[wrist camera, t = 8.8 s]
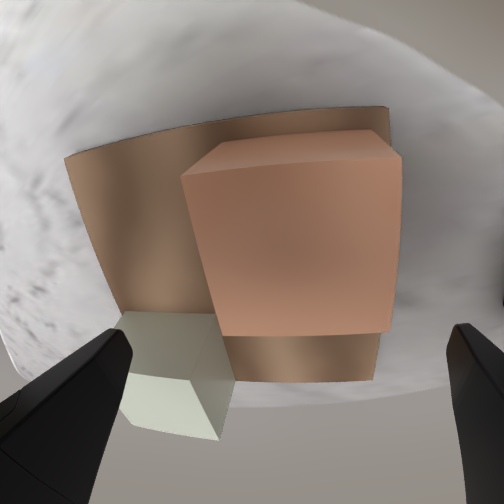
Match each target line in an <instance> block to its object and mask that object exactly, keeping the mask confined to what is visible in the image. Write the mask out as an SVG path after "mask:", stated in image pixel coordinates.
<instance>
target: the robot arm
mask: <svg viewBox="0 0 504 504" xmlns="http://www.w3.org/2000/svg"><path fill="white" fill-rule="evenodd" d="M503 306H504V302H503ZM446 356H447V363H448V370H449V378H450V386H451V394H452V395H451V396H452V404H453V410H454V415H455V421H456V426H457V431H458V437H459V444H460V450H461V457H462V464H463V471H464V480H465V491H466V503H467V504H504V353H503V352H502V351H501V350H500V349H499V348H498V347H497V346H495V345H494V344H493V343H492V342H491V341H490V340H489V339H487V338H486V337H485V336H484V335H483V334H482V333H481V332H479V331H478V330H477V329H476V328H475V327H473V326H472V325H471V324H469V323H462V324H456V325H455V326H454V327H453V329H452V333H451V336H450V339H449V342H448V345H447V349H446ZM132 358H133V350H132V347H131V345H130V343H129V341H128V339H127V337H126V335H125V333H124V332H123V331H122V330H121V329H113V328H111V329H108V330H106V331H104V332H103V333H102V334H100V335H99V336H97V337H96V338H94V339H93V340H91V341H90V342H88V343H87V344H85V345H84V346H82V347H81V348H79V349H78V350H76V351H75V352H74V353H72V354H71V355H69V356H68V357H66V358H65V359H63V360H62V361H60V362H59V363H57V364H56V365H55V366H53V367H52V368H50V369H49V370H47V371H46V372H44V373H43V374H42V375H40V376H39V377H37V378H36V379H34V380H33V381H31V382H30V383H29V384H27V385H26V386H24V387H23V388H22V389H21V390H18V391H17V392H16V393H14V394H13V395H11V396H10V397H8V398H7V399H5V400H4V401H2V402H1V403H0V504H88V503H89V500H90V496H91V493H92V489H93V486H94V483H95V479H96V476H97V472H98V469H99V466H100V463H101V459H102V457H103V454H104V451H105V447H106V444H107V441H108V438H109V435H110V432H111V429H112V426H113V423H114V421H115V418H116V415H117V412H118V409H119V406H120V403H121V400H122V397H123V393H124V389H125V385H126V381H127V377H128V373H129V369H130V365H131V362H132Z"/></svg>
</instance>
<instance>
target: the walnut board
mask: <svg viewBox="0 0 504 504" xmlns="http://www.w3.org/2000/svg"><path fill="white" fill-rule="evenodd" d="M366 129H371V130H372V131H374V132H375V133H376V134H377V135H378V136H379V137H380V138H381V139H382V140H384V141H385V142H386V143H387V144H388V145H389V146H390V147H391V140H390V120H389V108H387V107H384V106H368V107H339V108H321V109H307V110H295V111H285V112H275V113H266V114H258V115H250V116H243V117H236V118H229V119H223V120H216V121H210V122H205V123H199V124H194V125H188V126H183V127H178V128H173V129H168V130H164V131H159V132H155V133H150V134H146V135H142V136H137V137H133V138H129V139H125V140H121V141H118V142H114V143H110V144H106V145H103V146H99V147H96V148H92V149H89V150H86V151H82V152H79V153H76V154H73V155H71V156H69V157H66V158H64V161H65V165H66V168H67V172H68V175H69V179H70V182H71V185H72V188H73V191H74V195H75V198H76V201H77V204H78V207H79V210H80V213H81V216H82V218H83V221H84V224H85V227H86V230H87V232H88V235H89V238H90V240H91V243H92V246H93V248H94V251H95V253H96V256H97V258H98V261H99V263H100V266H101V268H102V271H103V273H104V276H105V278H106V280H107V283H108V285H109V287H110V290H111V292H112V294H113V296H114V299H115V301H116V303H117V305H118V307H119V310H120V312H121V314H122V315H123V314H124V312H125V311H136V312H161V313H198V314H216V312H215V308H214V305H213V301H212V298H211V294H210V291H209V287H208V283H207V280H206V276H205V272H204V269H203V265H202V261H201V257H200V254H199V250H198V246H197V242H196V238H195V234H194V231H193V227H192V223H191V219H190V215H189V211H188V206H187V202H186V198H185V194H184V190H183V186H182V182H181V177H180V176H181V175H182V174H183V173H184V172H186V171H187V170H188V169H189V168H191V167H192V166H193V165H194V164H195V163H197V162H198V161H199V160H200V159H202V158H203V157H204V156H205V155H207V154H208V153H209V152H211V151H212V150H213V149H214V148H216V147H217V146H218V145H219V144H221V143H222V142H227V141H234V140H242V139H250V138H258V137H267V136H276V135H286V134H298V133H310V132H324V131H342V130H366ZM216 318H217V315H216ZM217 321H218V319H217ZM218 324H219V322H218ZM219 328H220V326H219ZM220 331H221V329H220ZM380 334H381V333H367V334H349V335H324V336H222V338H223V341H224V345H225V348H226V351H227V355H228V358H229V361H230V365H231V368H232V371H233V374H234V377H235V381H251V382H293V383H306V382H347V381H366V380H373V377H374V371H375V366H376V360H377V354H378V348H379V341H380ZM221 335H222V332H221Z"/></svg>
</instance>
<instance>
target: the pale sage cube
mask: <svg viewBox="0 0 504 504" xmlns="http://www.w3.org/2000/svg"><path fill="white" fill-rule="evenodd" d="M114 329H121V330H122V331H123V332H124V333H125V335H126V337H127V339H128V341H129V343H130V345H131V347H132V350H133V358H132V362H131V365H130V369H129V373H128V377H127V381H126V385H125V389H124V393H123V397H122V400H121V403H120V406H119V408H120V409H121V411H122V412H123V413H124V415H125V416H126V417H127V419H128V420H129V421H130V422H131V424H132V425H135V426H139V427H143V428H148V429H153V430H157V431H163V432H168V433H173V434H179V435H185V436H191V437H197V438H205V439H212V440H220V436H221V433H222V429H223V426H224V422H225V418H226V414H227V411H228V407H229V403H230V400H231V396H232V392H233V388H234V385H235V377H234V374H233V371H232V368H231V365H230V361H229V358H228V355H227V351H226V348H225V345H224V341H223V338H222V335H221V331H220V328H219V324H218V321H217V318H216V314H198V313H161V312H136V311H125V312H124V314H123V315H122V317H121V318H120V320H119V321H118V323H117V324H116V326H115V327H114Z"/></svg>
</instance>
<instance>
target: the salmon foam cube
mask: <svg viewBox="0 0 504 504" xmlns="http://www.w3.org/2000/svg"><path fill="white" fill-rule="evenodd" d="M180 177H181V182H182V186H183V190H184V194H185V198H186V202H187V206H188V211H189V215H190V219H191V223H192V227H193V231H194V234H195V238H196V242H197V246H198V250H199V254H200V257H201V261H202V265H203V269H204V272H205V276H206V280H207V283H208V287H209V291H210V294H211V298H212V301H213V305H214V308H215V312H216V315H217V319H218V322H219V326H220V329H221V332H222V336H324V335H349V334H367V333H383V332H390V326H391V320H392V313H393V305H394V297H395V289H396V280H397V270H398V259H399V247H400V232H401V211H402V157H401V156H400V155H399V154H398V153H397V152H395V151H394V150H393V149H392V148H391V147H390V146H389V145H388V144H387V143H386V142H385V141H384V140H382V139H381V138H380V137H379V136H378V135H377V134H376V133H375V132H374V131H372V130H371V129H366V130H342V131H324V132H310V133H298V134H286V135H276V136H267V137H258V138H250V139H242V140H234V141H227V142H222V143H221V144H219V145H218V146H217V147H216V148H214V149H213V150H212V151H211V152H209V153H208V154H207V155H205V156H204V157H203V158H202V159H200V160H199V161H198V162H197V163H195V164H194V165H193V166H192V167H191V168H189V169H188V170H187V171H186V172H184V173H183V174H182V175H181V176H180Z"/></svg>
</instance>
